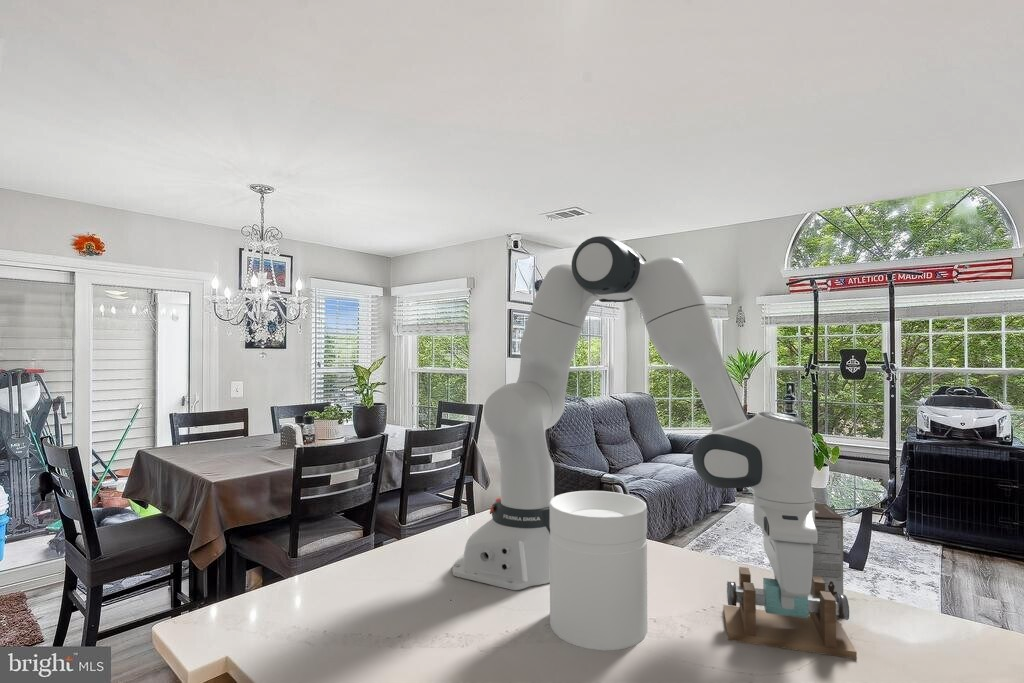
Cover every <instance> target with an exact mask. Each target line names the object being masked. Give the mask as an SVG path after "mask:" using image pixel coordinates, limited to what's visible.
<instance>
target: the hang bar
mask: <svg viewBox="0 0 1024 683" xmlns="http://www.w3.org/2000/svg"><path fill="white" fill-rule="evenodd" d="M762 581H763V582H762V584H763V586H762V587H763V588H759V587H758V588H756V587H754V588H755V591H756V606H761V607H764V610H765V611H766V613H770V614H778V615H786V616H794V617H801V618H808V616H809V613H811V612H816V613H820V596H819V595H810V594H809V596H808V597H794V608H793V609H785V608H783V607H782V606H781V603H780V593H781V588H780V586H779V584H778V581H777V579H775V578H769V577H762ZM726 598H727V600H726V601H727V605H728V606H736V607H737V604H739V603H743V587H741V586H739V585H736V581H728V580H727V581H726ZM834 599H835V600H836V619H837V620H843V621H849V619H850V605H849V599H848V598H847V595H846V594H844V593H843V594H835V596H834Z"/></svg>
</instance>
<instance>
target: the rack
mask: <svg viewBox="0 0 1024 683" xmlns="http://www.w3.org/2000/svg"><path fill="white" fill-rule="evenodd" d="M738 575H739V578H738V582H739V583H738V584H739V585H738V586H741V587H743V603H738V604H739V606H737V605H736V606H731V605H728V604H723V615H724V623H725V628H726V633H727V640H728V641H734V642H741V643H747V644H754V645H755V644H756V645H759V646H761V645H762V646H768V647H769V646H770V647H774V648H781V649H787V650H794V651H801V652H809V653H815V654H823V655H828V656H829V655H830V656H836V657H841V658H843V657H844V658H849V659H858V658H857V657H858V655H857V650H856V648H855V646H854V645H853V643H852V642H851V639H850V638H849V637H848V635H847V633H846V631H845V629H844V628H843V626H842V624H841V623H840V620H839V619H837V616H836V600H835V599H834V597H833V595H832V594H831V592H825V582H824V581H823V579H822V577H821V576H818V575H812V583H811V595H819V596H820V613H816V612H810V615H808V618H801V617H794V616H786V615H778V614H770V613H766V611H765V609H757V608H756V607H757V605H756V591H755V588H756V587H755V585H754V583H753V582H752V579H751V578H752V577H751V576H752V575H751V571H750V568H749V567H745V566H739V567H738Z"/></svg>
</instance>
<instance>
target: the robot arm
mask: <svg viewBox="0 0 1024 683" xmlns="http://www.w3.org/2000/svg"><path fill="white" fill-rule="evenodd" d="M597 301H599V302H601V303H625V302H630V301H635V302H636V304H637V306H638V308H639V311H640V312H641V315H642V318H643V321H644V324H645V327H646V330H647V333H648V336H649V339H650V340H651V343H652V345H653V347H654V348H655V350H656V351H657V354H658V355H659V357H660V358H661V359H662V360H663V361H664V362H665V363H667V364H669V365H670V366H673V367H674V368H676V369H677V370H679V371H680V372H681V373H683V374H684V375H685V376H686V377H687V378H688V379H689V380H690V381H691V382H692V383H693V384H694V387H695V388H696V390H697V393H698V396H699V397H700V400H701V402H702V405H703V407H704V409H705V412H706V415H707V418H708V419H709V421H710V424H711V425H710V426H711V432H709V433H708V434H706V435H704V436H703V437H702V438H700V439H699V440H698V441H697V443H696V444H695V446H694V448H693V450H692V463H693V467H694V469H695V471H696V473H697V475H698V476H699V477H700V479H701V480H702V481H704V482H705V483H706V484H708V485H710V486H712V487H714V488H718V489H742V488H751V489H752V491H753V493H752V494H753V522H754V524H755V525H756V526H758V527H760V528H761V530H762V531H761V533H762V534H763V541H762V542H763V550H764V551H765V554H766V557H767V559H768V561H769V564H770V567H771V569H772V571H773V575H774V576H773V578H774V579H777V581H778V584H779V586H780V588H781V593H780V603H781V606H782V607H783V608H785V609H793V608H794V597H808V596H809V593H810V590H811V583H812V569H813V546H812V544H816V543H817V539H818V538H817V529H816V525H815V509H814V503H815V494H814V491H813V487H812V486H813V485H812V480H813V477H814V474H815V459H814V458H815V455H814V446H813V445H814V444H813V439H812V438H813V437H812V434H811V431H810V428H809V425H807V424H806V422H804V421H803V420H802V419H800V418H799V417H796V416H794V415H790V414H786V413H781V412H776V411H775V412H772V411H762V412H759V413H757V414H756V415H755V416H753V417H751V418H749V416H748V415H747V414H746V411H745V410H744V407H743V405H742V402H741V400H740V397H739V396H738V393H737V390H736V388H735V386H734V383H733V381H732V379H731V377H730V374H729V372H728V369H727V368H726V365H725V362H724V359H723V356H722V352H721V349H720V346H719V343H718V342H719V341H718V339H717V336H716V332H715V329H714V324H713V322H712V318H711V315H710V312H709V310H708V306H707V304H706V301H705V299H704V297H703V294H702V292H701V289H700V287H699V285H698V284H697V282H696V280H695V278H694V276H693V274H692V273H691V272H690V270H689V268H688V266H687V265H686V264H685V263H684V261H683V260H681V259H680V258H677V257H675V256H661V257H657V258H654V259H652V260H648V261H647V259H646V257H644V256H643V254H641V253H639V252H638V251H637V250H635V248H633V247H632V246H631V245H629V244H627V243H625V242H621V241H620V240H618V239H616V238H613V237H610V236H606V235H604V236H603V235H599V236H592V237H590V238H587V239H586V240H584V241H583V242H582V243H581V244H580V245H578V246H577V248H576V249H575V251H574V252H573V254H572V260H571V264H558V265H557V264H556V265H555V266H552V267H551V268H550V269H549V270H548V271H547V273H546V274H545V276H544V278H543V280H542V282H541V284H540V286H539V288H538V290H537V292H536V295H535V297H534V300H533V303H532V305H531V308H530V311H529V314H528V317H527V321H526V324H525V326H524V329H523V330H524V331H523V334H522V335H521V336H522V337H521V339H520V343H519V346H518V349H519V353H520V364H519V366H520V367H519V373H518V374H519V375H518V378H517V380H516V382H511V383H506V384H504V385H502V386H501V387H499V388H498V389H496V390H495V391H494V392H492V393H491V394H490V395H489V396H488V398H487V399H486V402H485V403H484V407H483V418H484V423H485V425H486V426H487V428H488V429H489V431H490V432H491V433H492V435H493V438H494V442H495V446H496V450H497V454H498V459H499V460H498V462H499V470H500V476H499V477H500V496H498V498H497V499H495V502H494V503H492V505H491V507H490V508H489V515H491V517H492V518H490V520H488V521H486V522H485V523H484V524H483V525H481V526H480V527H479V528H478V529H477V530H475V531H474V532H473V533H472V534H471V535H470V536H469V537H468V539H467V541H466V544H465V546H464V551H463V554H462V555H460V556H459V557H458V558H457V559H456V560H455V561H454V563H453V565H452V571H451V572H452V575H453V576H454V577H457V578H462V579H464V580H465V579H466V580H471V581H474V582H479V583H483V584H487V585H491V586H495V587H500V588H503V589H509V590H512V591H519V590H523V589H526V588H528V587H532V586H533V587H534V586H539V585H544V584H550V500H551V499H552V498H553V497H555V464H554V462H553V459H552V458H551V456H550V451H549V449H548V443H547V439H546V438H547V437H546V430H547V429H551V428H553V426H555V425H556V424H557V423H558V422H559V420H560V419H561V417H562V416H563V414H564V412H565V408H566V398H565V397H566V393H567V386H568V382H569V381H568V380H569V374H570V368H571V365H572V360H573V357H574V355H575V351H576V348H577V346H578V342H579V339H580V336H581V333H582V329H583V326H584V324H585V322H586V318H587V315H588V312H589V311H590V310H589V309H590V308H591V306H592V305H593V304H594V303H595V302H597Z"/></svg>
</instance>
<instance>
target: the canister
mask: <svg viewBox="0 0 1024 683" xmlns="http://www.w3.org/2000/svg"><path fill="white" fill-rule="evenodd" d="M647 534H648V508H647V503H646V502H645V501H644V500H642V499H641V498H638V497H635V496H633V495H629V494H625V493H620V492H614V491H606V490H578V491H577V490H575V491H570V492H565V493H560V494H557V495H554V497H553V498H552V499H551V500H550V582H549V625H550V627H551V629H552V630H551V631H553V633H554V634H556V636H557V637H559V638H560V639H561V640H563V641H565V642H567V643H569V644H571V645H573V646H576V647H579V648H584V649H587V650H595V651H598V650H599V651H604V652H605V651H616V650H617V651H618V650H624V649H626V648H627V649H628V648H630V647H633V646H636V645H637V644H639V643H640V642H642V641H643V640H644V639H645V637H646V636H647V634H648V633H649V632H648V624H649V623H648V541H647Z"/></svg>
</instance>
